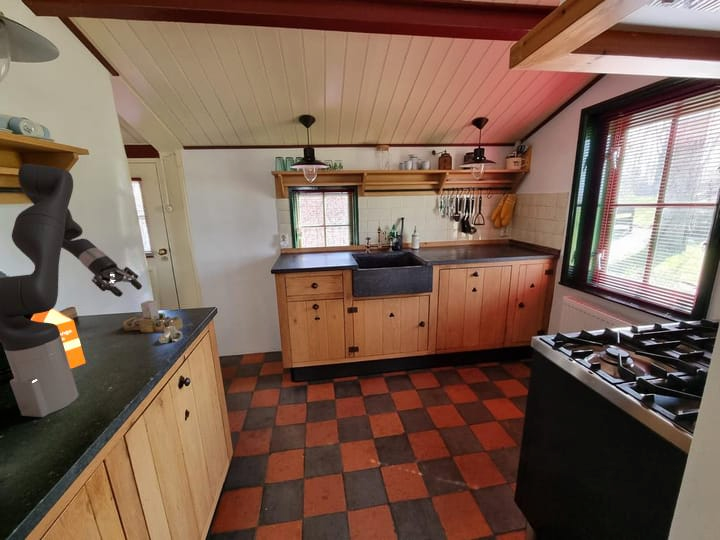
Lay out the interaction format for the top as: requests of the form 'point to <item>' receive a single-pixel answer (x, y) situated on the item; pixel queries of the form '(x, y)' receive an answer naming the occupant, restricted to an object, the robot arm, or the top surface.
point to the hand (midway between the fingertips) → (131, 291)
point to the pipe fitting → (170, 335)
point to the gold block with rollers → (148, 324)
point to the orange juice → (64, 335)
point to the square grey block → (150, 310)
